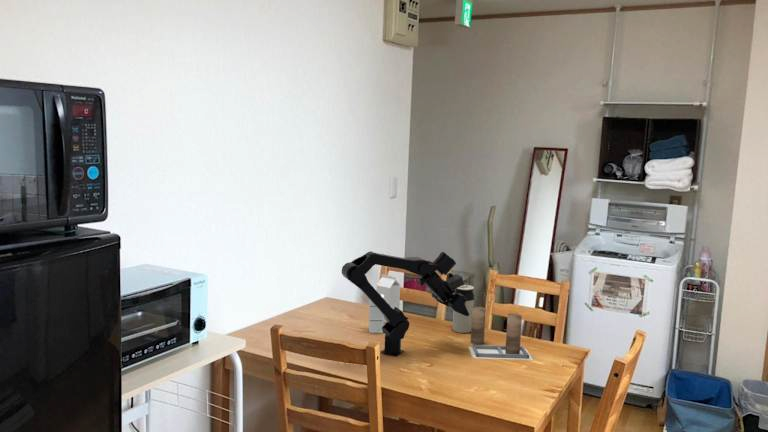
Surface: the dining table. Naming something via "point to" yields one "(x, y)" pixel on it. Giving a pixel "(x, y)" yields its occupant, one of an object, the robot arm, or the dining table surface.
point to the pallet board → (497, 352)
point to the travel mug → (462, 321)
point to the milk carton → (389, 290)
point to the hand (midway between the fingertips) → (462, 312)
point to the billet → (478, 325)
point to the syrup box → (375, 318)
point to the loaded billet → (513, 334)
